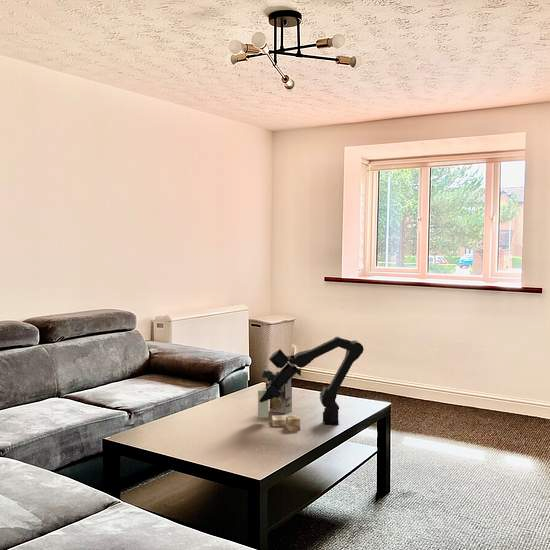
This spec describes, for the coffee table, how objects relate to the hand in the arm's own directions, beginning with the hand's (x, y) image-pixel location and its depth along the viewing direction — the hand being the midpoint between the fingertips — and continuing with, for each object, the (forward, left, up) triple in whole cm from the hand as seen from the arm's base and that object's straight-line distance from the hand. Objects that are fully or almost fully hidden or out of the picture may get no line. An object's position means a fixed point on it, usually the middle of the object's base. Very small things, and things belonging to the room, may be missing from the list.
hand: (260, 400), depth 263 cm
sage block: (-1, 0, -7) cm, 7 cm away
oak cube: (-15, +5, -11) cm, 19 cm away
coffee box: (-7, -21, -11) cm, 25 cm away
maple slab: (-9, -1, -11) cm, 14 cm away
